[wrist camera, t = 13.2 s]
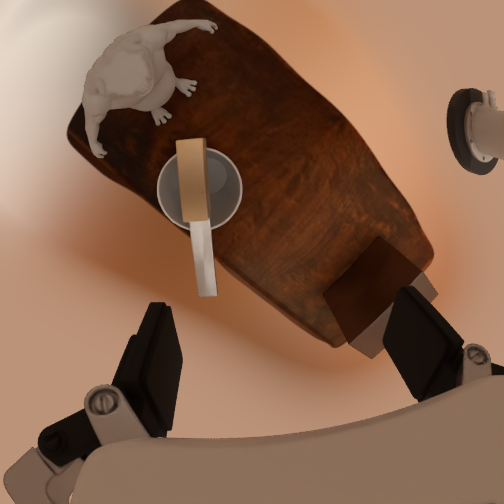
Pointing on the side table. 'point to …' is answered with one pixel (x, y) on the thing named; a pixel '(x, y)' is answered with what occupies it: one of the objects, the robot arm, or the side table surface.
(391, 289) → the dark rectangular block
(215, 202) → the cup
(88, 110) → the figurine
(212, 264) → the knife
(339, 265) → the side table surface
